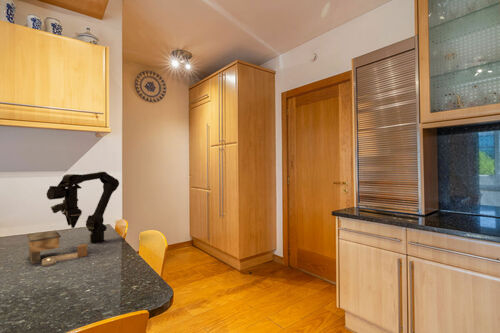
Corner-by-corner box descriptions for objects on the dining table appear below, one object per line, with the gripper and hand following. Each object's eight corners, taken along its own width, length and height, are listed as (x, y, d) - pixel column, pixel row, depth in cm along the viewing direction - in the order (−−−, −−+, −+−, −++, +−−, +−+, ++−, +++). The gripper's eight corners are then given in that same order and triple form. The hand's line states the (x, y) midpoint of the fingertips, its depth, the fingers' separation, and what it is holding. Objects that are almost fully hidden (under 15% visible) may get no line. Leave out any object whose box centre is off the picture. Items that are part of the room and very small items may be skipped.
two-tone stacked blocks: (87, 253, 127) (87, 243, 127) (87, 256, 123) (87, 245, 123) (45, 259, 119) (45, 249, 119) (44, 263, 114) (44, 252, 114)
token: (57, 261, 117) (57, 256, 117) (54, 265, 112) (54, 259, 112) (43, 263, 115) (43, 257, 115) (40, 267, 110) (40, 261, 110)
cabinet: (55, 251, 131) (55, 230, 131) (60, 258, 121) (60, 235, 121) (27, 256, 123) (27, 234, 123) (30, 264, 113) (30, 240, 113)
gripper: (49, 197, 136) (49, 226, 136) (55, 200, 123) (55, 232, 122) (74, 195, 144) (74, 223, 144) (81, 198, 131) (82, 228, 130)
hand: (71, 226), depth 135 cm, fingers open, 9 cm apart
